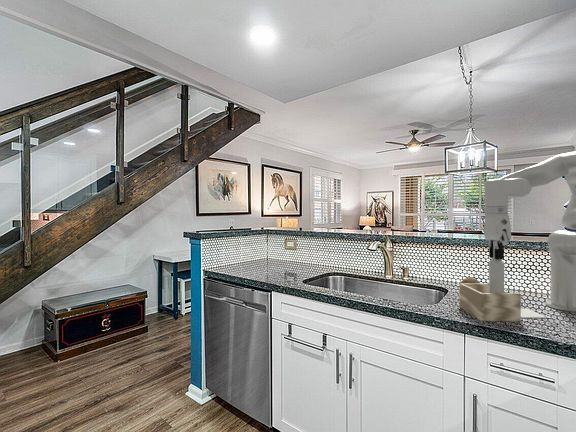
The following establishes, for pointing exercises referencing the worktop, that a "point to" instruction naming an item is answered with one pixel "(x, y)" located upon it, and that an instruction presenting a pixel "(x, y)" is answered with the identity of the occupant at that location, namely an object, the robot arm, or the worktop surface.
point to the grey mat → (530, 314)
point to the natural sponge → (470, 280)
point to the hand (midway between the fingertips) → (496, 258)
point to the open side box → (489, 303)
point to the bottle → (496, 274)
